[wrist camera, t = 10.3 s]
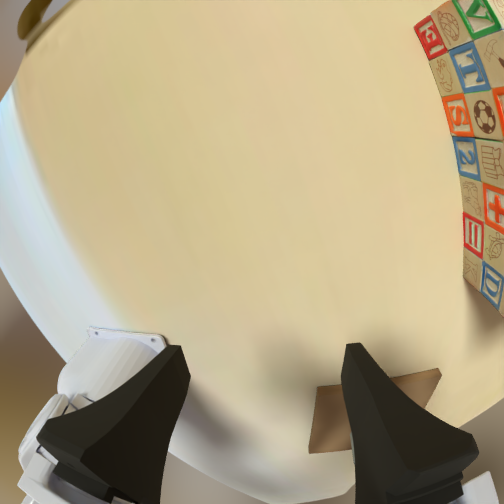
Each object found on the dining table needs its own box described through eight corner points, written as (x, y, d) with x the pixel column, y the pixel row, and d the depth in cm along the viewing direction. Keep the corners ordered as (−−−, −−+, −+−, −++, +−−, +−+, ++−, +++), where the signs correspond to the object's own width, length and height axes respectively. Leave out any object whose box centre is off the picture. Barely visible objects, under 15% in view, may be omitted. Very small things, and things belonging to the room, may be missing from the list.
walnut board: (308, 446, 29) (308, 453, 28) (317, 386, 24) (318, 395, 23) (403, 432, 27) (405, 438, 26) (438, 368, 22) (442, 375, 21)
